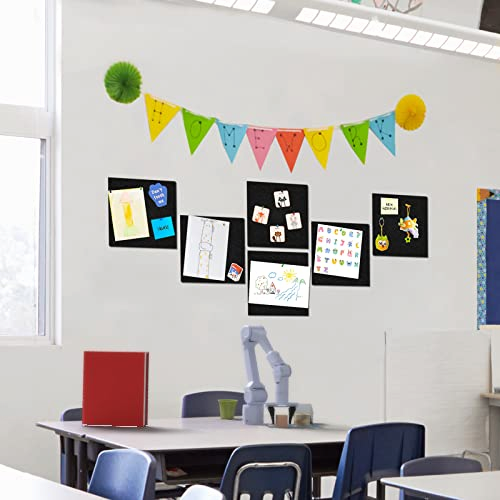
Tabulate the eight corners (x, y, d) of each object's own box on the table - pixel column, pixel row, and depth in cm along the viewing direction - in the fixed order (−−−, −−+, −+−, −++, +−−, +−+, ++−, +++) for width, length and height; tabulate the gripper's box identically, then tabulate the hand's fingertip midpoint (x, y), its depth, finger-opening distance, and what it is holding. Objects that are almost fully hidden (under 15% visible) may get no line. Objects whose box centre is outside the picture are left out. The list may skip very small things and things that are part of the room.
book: (147, 426, 437) (149, 351, 440) (143, 427, 429) (144, 352, 432) (86, 424, 441) (88, 350, 443) (80, 426, 433) (82, 351, 435)
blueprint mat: (270, 429, 432) (270, 427, 432) (263, 425, 448) (263, 423, 448) (324, 428, 436) (324, 427, 436) (316, 425, 452) (316, 423, 452)
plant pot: (240, 418, 478) (241, 400, 478) (231, 420, 469) (232, 401, 470) (223, 417, 482) (223, 399, 482) (214, 419, 473) (214, 400, 474)
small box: (313, 412, 459) (311, 403, 450) (312, 424, 456) (310, 415, 448) (296, 411, 461) (293, 402, 452) (295, 423, 458) (292, 414, 449)
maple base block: (296, 426, 441) (296, 414, 441) (293, 424, 447) (293, 413, 447) (309, 426, 442) (309, 414, 442) (307, 424, 447) (307, 413, 448)
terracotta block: (277, 427, 435) (277, 415, 436) (275, 426, 440) (275, 414, 440) (287, 427, 436) (287, 415, 436) (285, 426, 440) (285, 414, 441)
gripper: (267, 393, 434) (266, 425, 433) (300, 393, 436) (299, 425, 435) (264, 392, 441) (263, 423, 440) (296, 392, 443) (296, 423, 442)
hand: (281, 424), depth 438 cm, fingers open, 7 cm apart
